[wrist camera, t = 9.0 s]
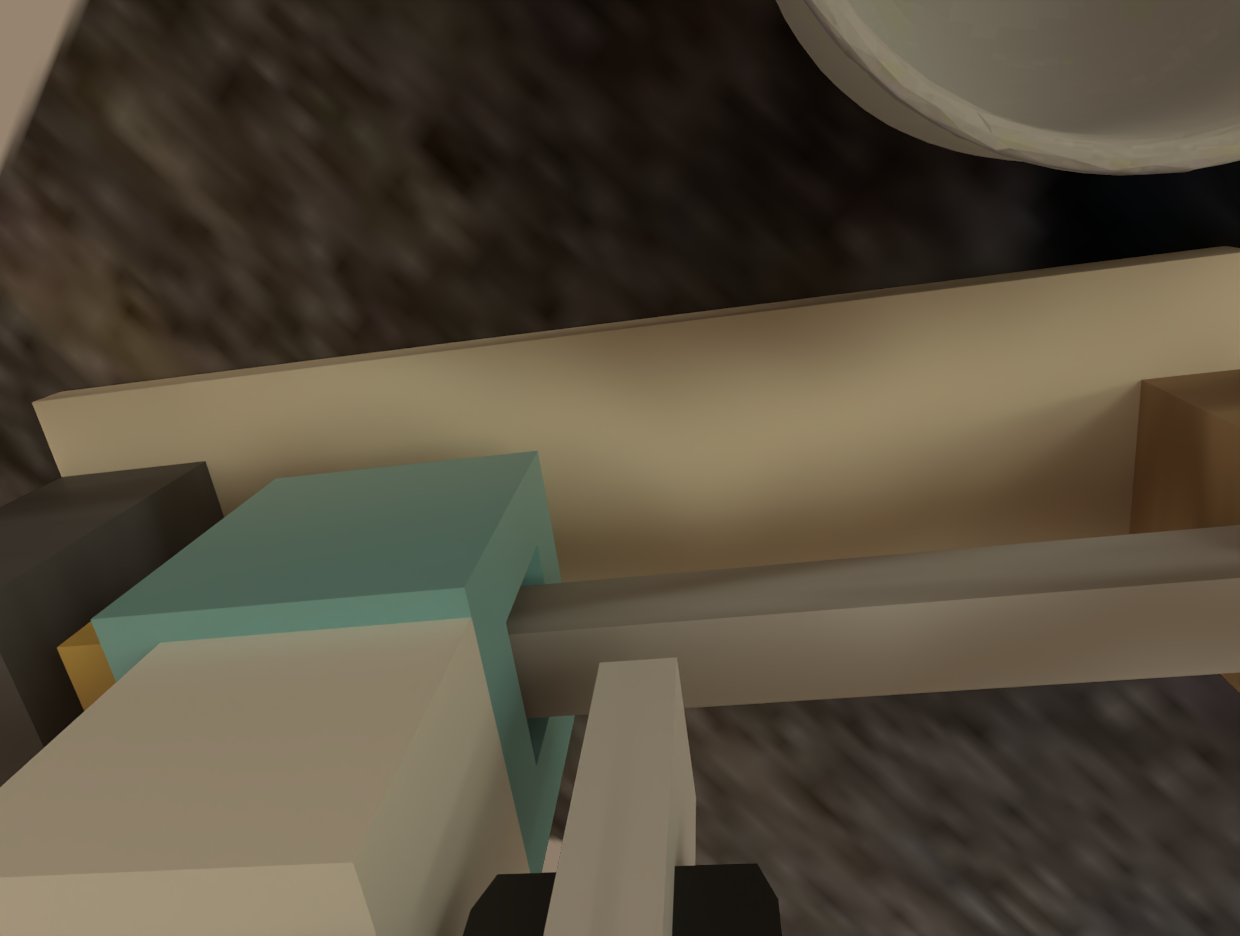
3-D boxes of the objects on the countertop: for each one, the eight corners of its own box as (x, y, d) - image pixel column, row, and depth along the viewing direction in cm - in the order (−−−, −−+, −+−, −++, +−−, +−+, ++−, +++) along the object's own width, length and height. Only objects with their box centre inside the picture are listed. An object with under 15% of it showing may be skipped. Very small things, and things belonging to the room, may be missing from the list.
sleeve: (275, 478, 18) (-210, 848, 8) (537, 450, 17) (339, 821, 8) (343, 702, 20) (15, 1211, 10) (581, 686, 19) (468, 1218, 10)
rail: (60, 391, 21) (-283, 516, 14) (1225, 245, 18) (1615, 307, 10) (183, 711, 25) (-39, 951, 17) (1181, 642, 21) (1451, 907, 14)
